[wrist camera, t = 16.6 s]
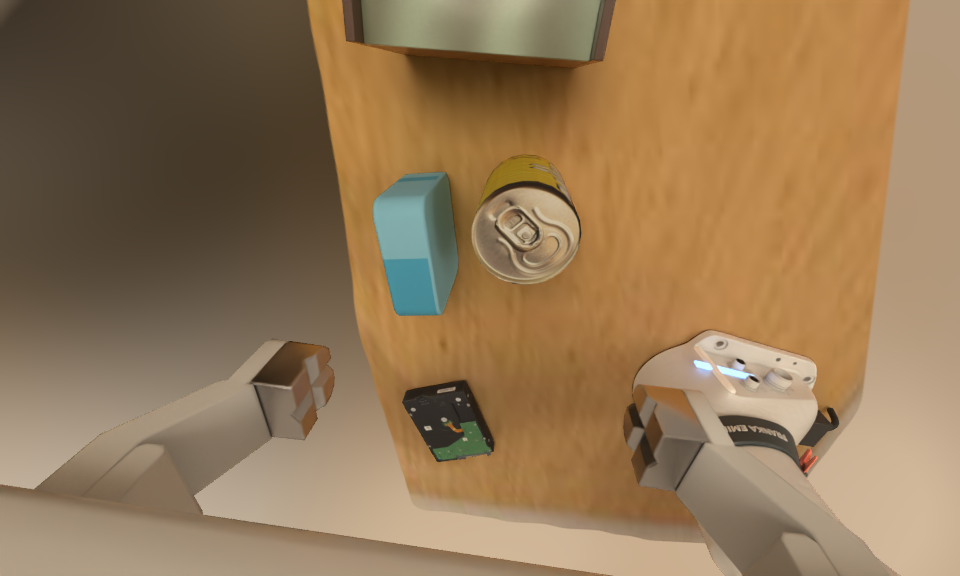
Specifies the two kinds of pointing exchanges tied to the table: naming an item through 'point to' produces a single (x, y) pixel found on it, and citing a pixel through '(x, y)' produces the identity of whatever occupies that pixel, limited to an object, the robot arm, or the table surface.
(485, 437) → the disk drive
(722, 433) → the robot arm
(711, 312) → the table surface
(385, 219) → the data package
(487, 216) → the beverage can
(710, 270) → the table surface
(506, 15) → the step shelf
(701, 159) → the table surface
